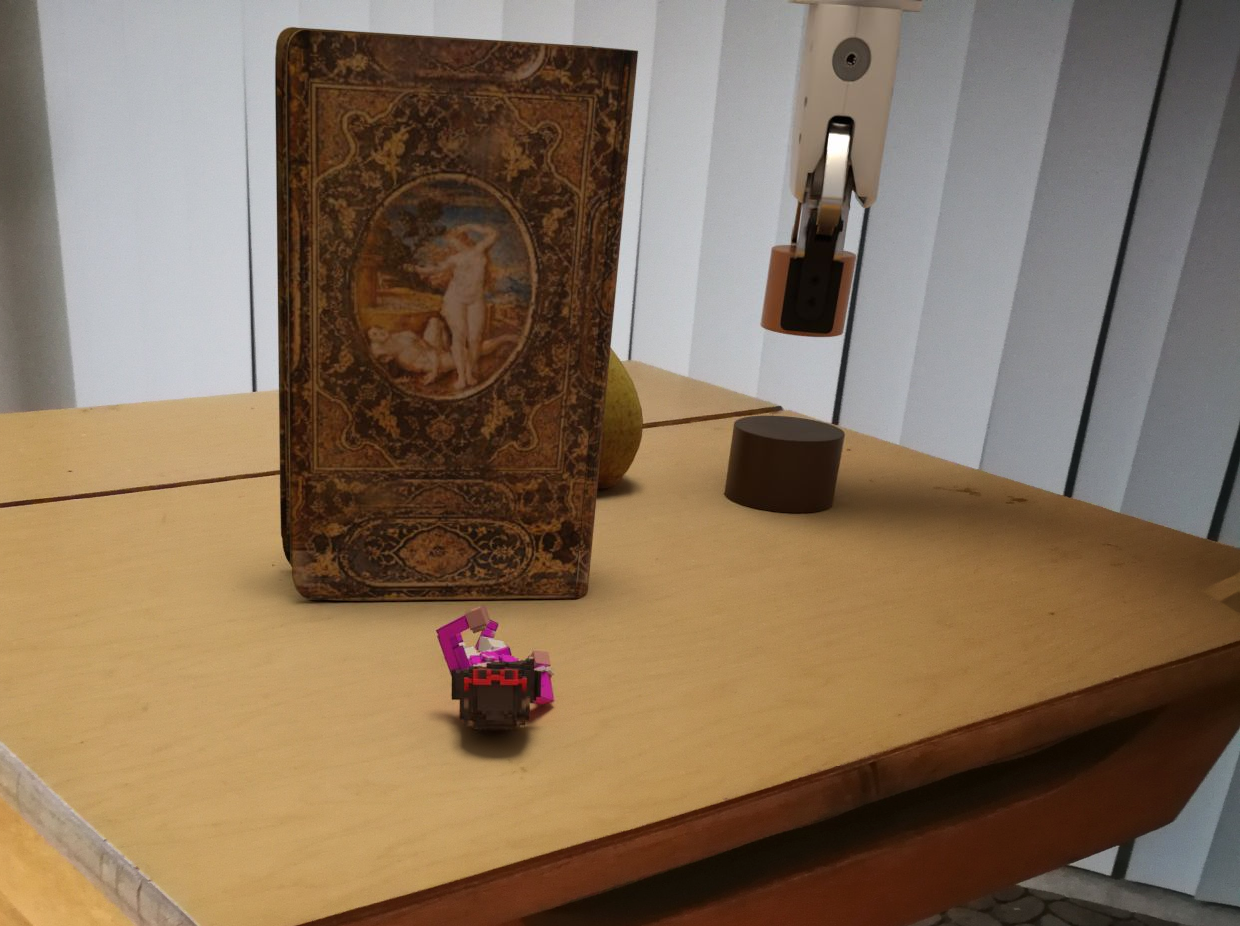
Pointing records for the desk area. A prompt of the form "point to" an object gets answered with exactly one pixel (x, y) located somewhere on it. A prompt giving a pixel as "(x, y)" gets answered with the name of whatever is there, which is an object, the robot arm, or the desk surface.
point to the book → (445, 309)
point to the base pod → (784, 463)
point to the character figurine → (492, 675)
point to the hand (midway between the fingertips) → (803, 319)
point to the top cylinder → (778, 284)
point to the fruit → (619, 425)
